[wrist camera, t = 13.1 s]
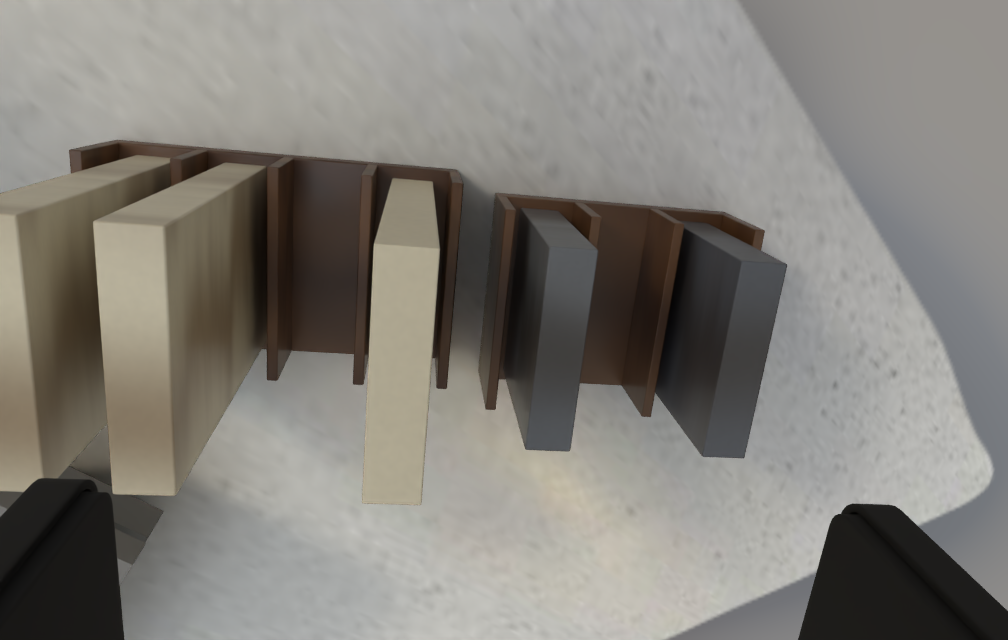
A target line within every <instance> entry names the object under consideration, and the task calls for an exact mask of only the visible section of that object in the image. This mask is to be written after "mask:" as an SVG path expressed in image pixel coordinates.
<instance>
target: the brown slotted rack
mask: <svg viewBox="0 0 1008 640" xmlns="http://www.w3.org/2000/svg"><path fill="white" fill-rule="evenodd" d="M764 233H765V230H763V229H760V228H758V227H756V226H754V225H751V224H749V223H747V222H745V221H743V220H740V219H738V218H736V217H734V216H732V215H729V214H727V213H725V212H717V211H705V210H693V209H682V208H670V207H658V206H646V205H634V204H622V203H610V202H599V201H587V200H575V199H563V198H551V197H539V196H527V195H516V194H504V193H496V194H495V202H494V212H493V223H492V233H491V244H490V254H489V265H488V275H487V286H486V297H485V307H484V318H483V328H482V339H481V349H480V360H479V370H478V371H479V376H480V382H481V387H482V392H483V397H484V402H485V408H486V409H487V410H495V409H496V400H497V391H498V381H499V379H506V381H507V385H508V389H509V392H510V396H511V399H512V403H513V407H514V410H515V414H516V417H517V421H518V425H519V428H520V432H521V435H522V439H523V443H524V446H525V449H526V450H545V451H570V448H571V441H572V434H573V427H574V420H575V413H576V406H577V398H578V391H579V384H580V383H587V384H607V385H622V386H623V388H624V390H625V391H626V393H627V394H628V396H629V397H630V399H631V400H632V402H633V404H634V405H635V407H636V408H637V410H638V411H639V413H640V414H641V416H643V417H651V412H652V406H653V401H654V395H655V393H656V394H657V396H658V397H659V398H660V400H661V401H662V402H663V404H664V405H665V406H666V408H667V409H668V410H669V412H670V413H671V415H672V416H673V417H674V419H675V420H676V421H677V423H678V424H679V425H680V427H681V428H682V429H683V431H684V432H685V434H686V435H687V436H688V438H689V439H690V440H691V442H692V443H693V444H694V446H695V447H696V448H697V450H698V451H699V453H700V454H701V455H702V456H703V457H725V458H744V457H745V452H746V448H747V443H748V439H749V434H750V430H751V425H752V421H753V416H754V412H755V407H756V403H757V398H758V394H759V389H760V385H761V380H762V376H763V371H764V367H765V362H766V358H767V353H768V349H769V344H770V340H771V335H772V331H773V326H774V322H775V317H776V313H777V308H778V304H779V299H780V295H781V290H782V286H783V281H784V277H785V272H786V268H787V264H785V263H783V262H781V261H780V260H778V259H776V258H774V257H772V256H770V255H768V254H766V253H764V252H762V251H761V247H762V242H763V237H764Z"/></svg>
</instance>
